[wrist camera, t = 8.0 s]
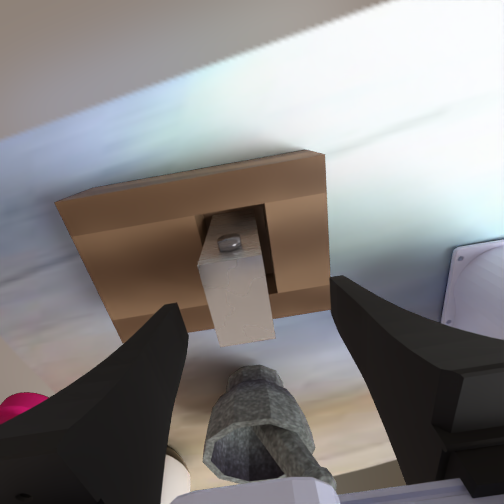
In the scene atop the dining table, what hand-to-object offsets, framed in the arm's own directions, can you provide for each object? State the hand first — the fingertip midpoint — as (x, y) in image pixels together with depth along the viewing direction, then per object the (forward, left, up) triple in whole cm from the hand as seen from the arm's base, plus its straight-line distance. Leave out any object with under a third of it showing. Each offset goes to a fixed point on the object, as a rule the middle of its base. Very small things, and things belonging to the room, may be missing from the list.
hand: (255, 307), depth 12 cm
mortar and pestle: (-17, +2, -10) cm, 20 cm away
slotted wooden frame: (0, +3, -10) cm, 10 cm away
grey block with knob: (0, +1, -9) cm, 9 cm away
